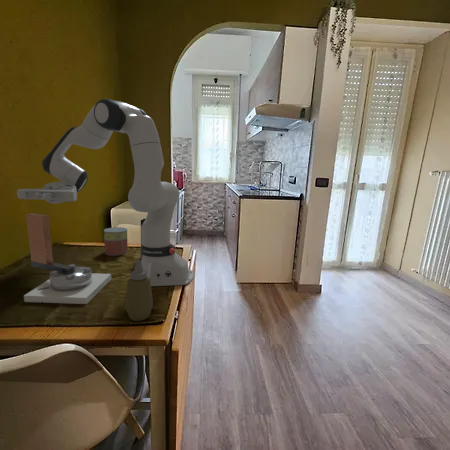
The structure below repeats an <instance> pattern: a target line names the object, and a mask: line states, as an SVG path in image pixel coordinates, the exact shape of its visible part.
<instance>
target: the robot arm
mask: <svg viewBox="0 0 450 450" xmlns="http://www.w3.org/2000/svg"><path fill="white" fill-rule="evenodd" d="M114 132H117V133H118V132H119V133H121V134H127V136H128V140H129V145H130V149H131V150H130V151H131V154H132V161H133V165H134V167H133V168H134V178H133V183H132V187H131V188H130V190H128V191H129V192H128V195H127V198H128V199H127V200H128V204H129V205H130V207H131V208H132V209H133V210H135V212H139V213H147V214H146V217H145V218H144V219H145V221H144V222H143V224H142V244H141V243H140V258H141V264H142V268H143V270H146V271H147V277H148V278H149V279H150V282H151V287H164V286H166V287H167V286H187V285H189V284H191V283H192V282H193V280H194V279H195V278H194V277H195V276H194V275H195V272H194V271H193V270H191V269H189V264H188V261H187V260H186V259H184V258H183V257H182V256H180V255H179V254H178V253H177V252H176V244H173V243H171V226H172V220H173V219H172V218H173V216H174V211H175V207H176V205H177V203H178V201H179V199H180V190H179V188H178V186H176V185H175V184H174V183H171V182H167V181H162V180H161V178H162V170H163V168H164V166H165V161H164V156H163V150H162V145H161V140H160V136H159V132H158V130H157V127H156V124H155V122H154V119H153V118H152V117H150V116H149V115H148V114H147V112H146V111H145V110H143V109H142V108H139V107H138V106H134V105H132V104H129V103H127V102H123V101H119V100H113V99H111V98H103V99H100V100H98V101H97V102H96V103H95V104H94V105H93V106H92V108H90V110H89V111H88V112H87V115H86V116H85V117H84V120H83V121H82V123H81V124H80V125H79V126H73V127H70V128H69V129H68V130H67V131H65V133H64V134H63V135H62V136H61V137H60V139H59V140H58V141H57V143H56V144H55V145H54V147H53V148H52V149H51V150H50V152H49V153H48V154H46V155H45V156H44V158H43V159H42V161H41V166H42V169H43V171H44V172H45V173H47V174H49V175H51V176H53V177H54V178H56V179H58V180H60V181H53V182H48V183H45V185H44V186H43V187H42V188H22V189H17V190H16V196H17V199H19V200H43V201H46V202H47V203H49V204H54V205H56V204H61V203H62V204H63V203H65V202H66V203H67V202H76V201H78V193H79V192H80V191H81V190H82V189H83V188H84V187H85V186H86V184H87V183H88V179H89V178H88V172H87V171H86V170H85V169H83V168H82V167H81V166H79V165H77V164H76V163H74V162H72V160H70V159H68V158H67V157H66V156H65V154H66V153H67V152H68V150H69V149H70V148H71V147H72V145H74V146H79V147H83V148H86V149H90V150H99V149H103V148H104V147H105V146H106V144H107V143H108V142H109V141H110V138H111V137H112V135H113V133H114Z"/></svg>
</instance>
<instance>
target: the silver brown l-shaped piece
mask: <svg viewBox="0 0 450 450" xmlns="http://www.w3.org/2000/svg"><path fill="white" fill-rule="evenodd" d="M25 216H26V217H25V218H26V224H27V225H26V226H27V232H28V233H27V235H28V242H29V243H28V244H29V252H30V264H31V267H32V268H38V269H42V270H46V271H49V276H48V277H49V279H50V287H51V289H53V290H55V291H73V290H77V289H81V288H84V287H86V286H88V285H89V284H91V282H92V273H93V272H92V267H89V266H88V267H86V266H77V265H76V264H74V263H72V264H62V263H57V262H54V257H53V246H52V236H51V225H50V216H49V214H40V213H35V212H34V213H26V214H25Z"/></svg>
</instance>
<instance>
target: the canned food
mask: <svg viewBox="0 0 450 450" xmlns="http://www.w3.org/2000/svg"><path fill="white" fill-rule="evenodd" d="M103 239H104V240H103V241H104V254H105V255H108V256H121V255H125V254H127V253H128V252H129V250H128V248H129V247H128V244H129V243H128V228H126V227H120V226H118V227H117V226H116V227H115V226H114V227H108V228H104V229H103Z"/></svg>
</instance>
